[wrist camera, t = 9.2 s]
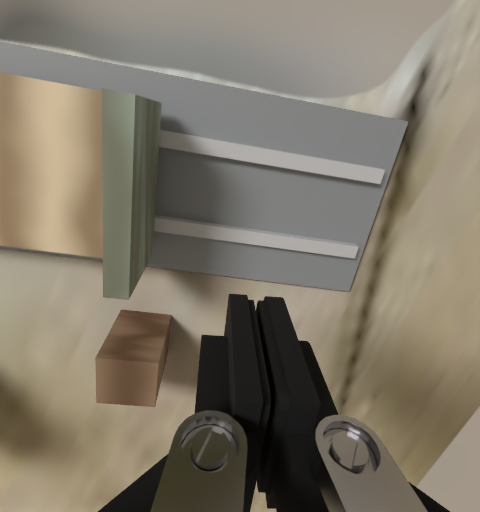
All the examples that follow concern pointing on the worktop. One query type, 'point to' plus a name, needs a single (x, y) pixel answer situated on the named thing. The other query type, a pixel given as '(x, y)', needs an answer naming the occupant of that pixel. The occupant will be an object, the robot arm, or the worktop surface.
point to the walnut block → (133, 359)
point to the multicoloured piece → (79, 174)
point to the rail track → (246, 173)
